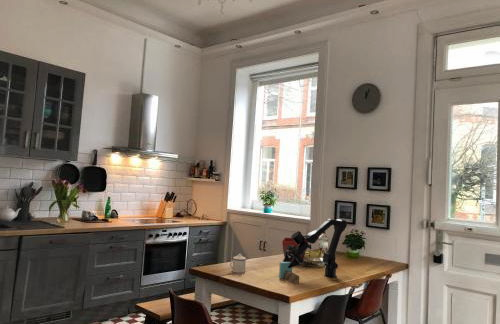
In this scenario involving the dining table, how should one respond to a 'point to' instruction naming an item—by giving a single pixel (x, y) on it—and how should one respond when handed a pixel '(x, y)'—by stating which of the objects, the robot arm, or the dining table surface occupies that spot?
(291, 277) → the walnut rail
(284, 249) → the plant pot
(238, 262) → the teacup with lid
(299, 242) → the robot arm
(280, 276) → the teal notched plate
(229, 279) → the dining table surface
